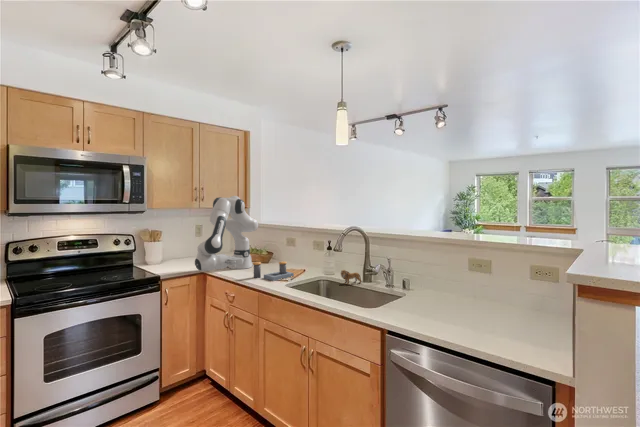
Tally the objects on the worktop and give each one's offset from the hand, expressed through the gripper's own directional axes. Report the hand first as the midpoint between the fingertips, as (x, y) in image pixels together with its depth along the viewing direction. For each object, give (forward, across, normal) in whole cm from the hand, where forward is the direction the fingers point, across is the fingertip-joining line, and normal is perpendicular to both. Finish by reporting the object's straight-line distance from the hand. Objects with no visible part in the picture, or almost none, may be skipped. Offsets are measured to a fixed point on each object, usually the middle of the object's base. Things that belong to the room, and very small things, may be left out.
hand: (241, 258), depth 216 cm
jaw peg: (+12, 0, +14) cm, 19 cm away
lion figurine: (+43, -57, +15) cm, 73 cm away
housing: (+22, -11, +14) cm, 29 cm away
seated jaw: (+26, -11, +14) cm, 32 cm away
